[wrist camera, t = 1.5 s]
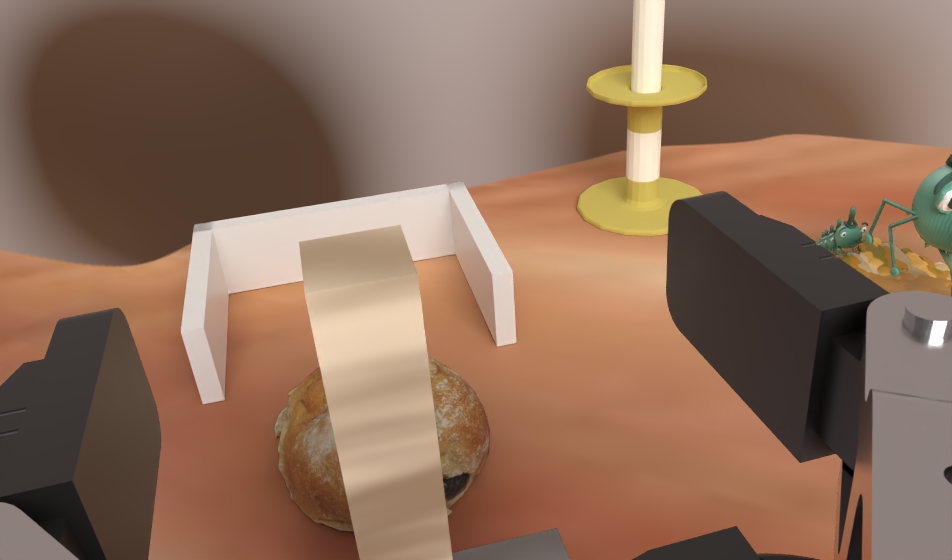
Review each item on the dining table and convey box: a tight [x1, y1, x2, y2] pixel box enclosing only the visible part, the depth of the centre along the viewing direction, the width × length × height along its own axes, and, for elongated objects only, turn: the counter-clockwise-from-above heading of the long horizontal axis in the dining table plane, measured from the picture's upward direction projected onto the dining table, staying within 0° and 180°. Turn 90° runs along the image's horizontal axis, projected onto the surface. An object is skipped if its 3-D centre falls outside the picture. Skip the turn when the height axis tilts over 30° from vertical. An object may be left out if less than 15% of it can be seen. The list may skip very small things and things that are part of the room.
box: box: [181, 182, 516, 404], centre depth 53 cm, size 13×18×5 cm
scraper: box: [299, 225, 570, 560], centre depth 28 cm, size 3×12×18 cm, turn 103°
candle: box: [577, 0, 707, 236], centre depth 57 cm, size 10×10×27 cm
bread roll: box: [274, 358, 490, 531], centre depth 41 cm, size 10×10×8 cm
